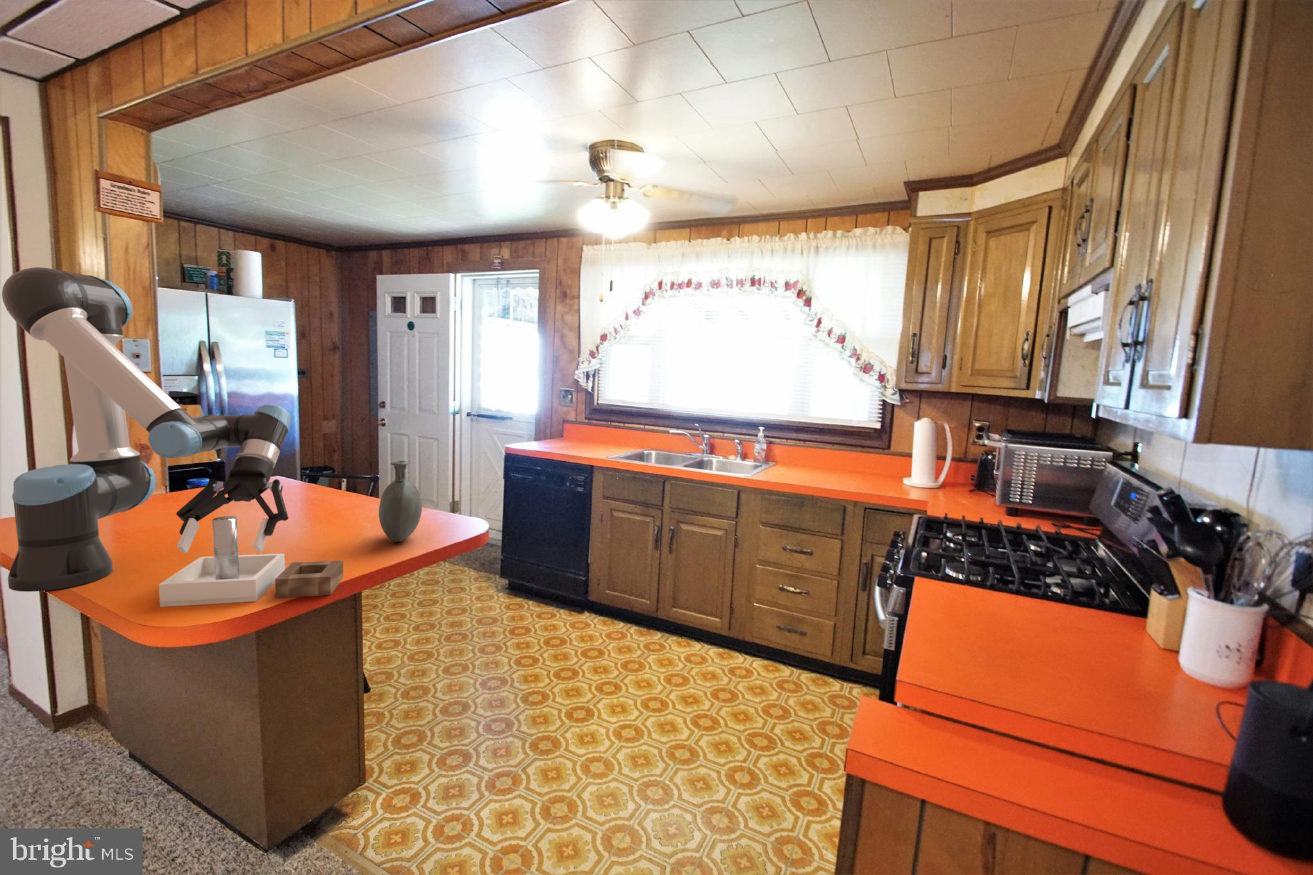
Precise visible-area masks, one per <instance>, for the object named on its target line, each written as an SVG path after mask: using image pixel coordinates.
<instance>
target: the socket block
mask: <svg viewBox="0 0 1313 875" xmlns="http://www.w3.org/2000/svg"><path fill="white" fill-rule="evenodd" d="M343 578H344V560H317V561H315V560H314V561H298V562H297V561H296V562H295V561H294V562H291V563H290V564H289V565H287V567H285V570H284V571H283V572H282V573H281V574H280V575H279V576H278V577H277V578H276V579H275V583H274V586H275V587H274V589H275V591H274V592H275V599H284V598H285V599H286V598H303V597H318V596H319V597H321V596H331V595H332V594H333V593H334V591H335V590H336V589H337V587H338V585H340V582H342V580H343Z"/></svg>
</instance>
